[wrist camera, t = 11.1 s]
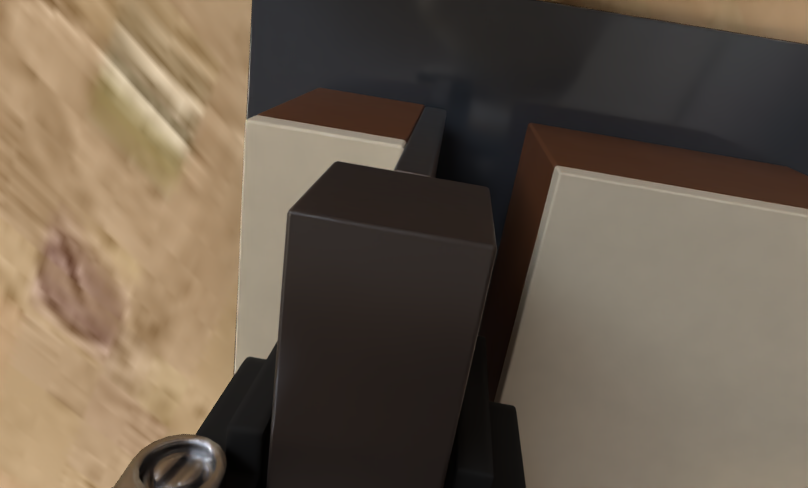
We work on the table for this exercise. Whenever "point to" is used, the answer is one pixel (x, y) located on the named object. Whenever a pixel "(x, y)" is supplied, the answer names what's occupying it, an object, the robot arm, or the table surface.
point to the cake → (651, 316)
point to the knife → (378, 321)
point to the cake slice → (300, 186)
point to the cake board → (537, 78)
